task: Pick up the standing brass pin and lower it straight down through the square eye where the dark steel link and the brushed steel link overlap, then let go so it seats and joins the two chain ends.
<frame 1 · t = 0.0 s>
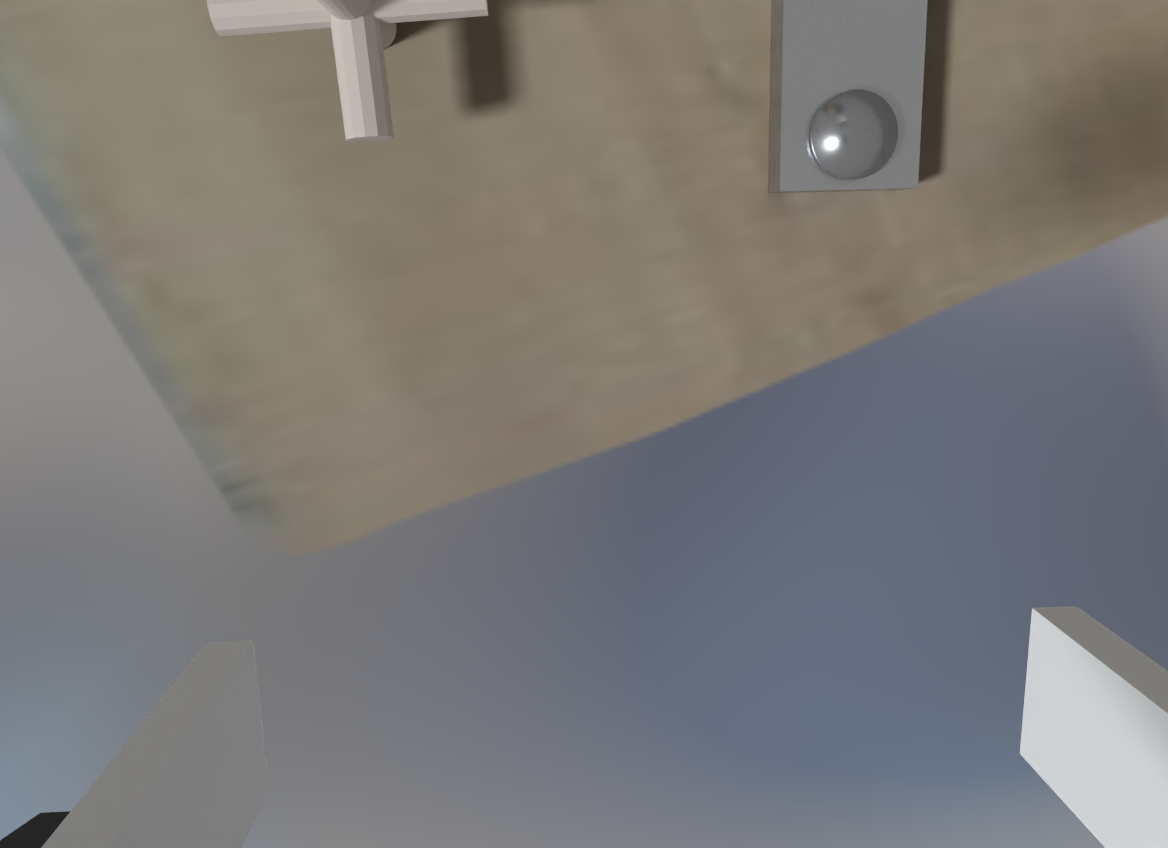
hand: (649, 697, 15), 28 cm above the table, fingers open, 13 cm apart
pipe connector: (375, 28, 39), on the table
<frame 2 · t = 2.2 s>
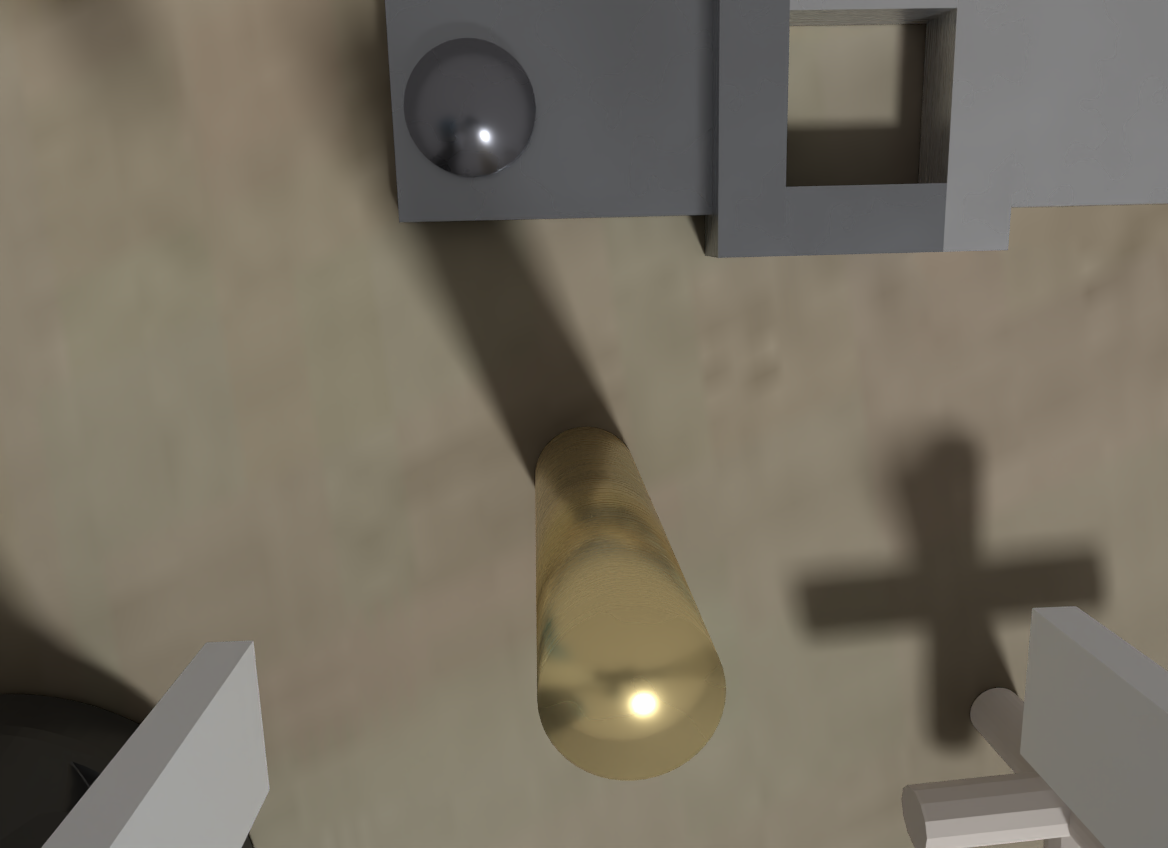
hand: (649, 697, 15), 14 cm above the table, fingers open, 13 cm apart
pipe connector: (993, 708, 32), on the table
pin: (585, 475, 29), on the table
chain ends: (846, 107, 27), on the table
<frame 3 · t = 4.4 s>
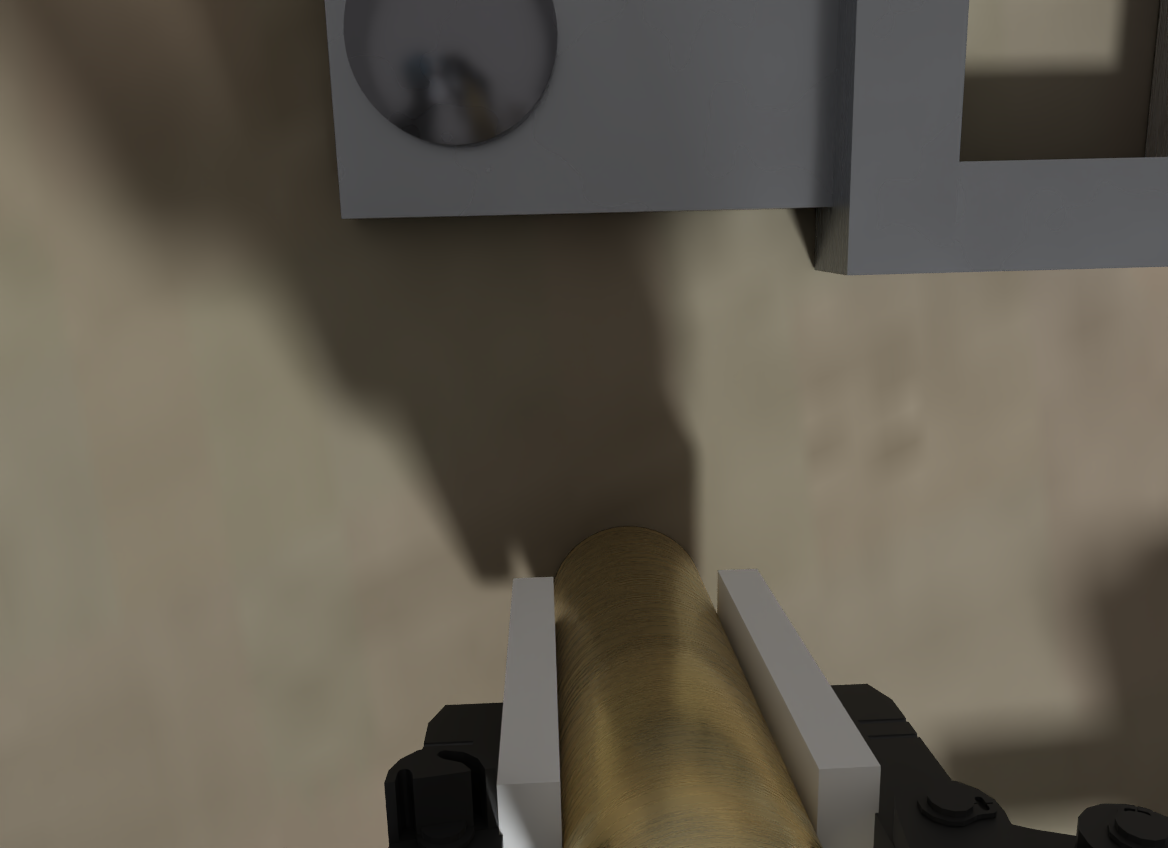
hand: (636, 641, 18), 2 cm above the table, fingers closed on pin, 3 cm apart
pin: (627, 598, 20), on the table, touching gripper
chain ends: (1038, 40, 17), on the table
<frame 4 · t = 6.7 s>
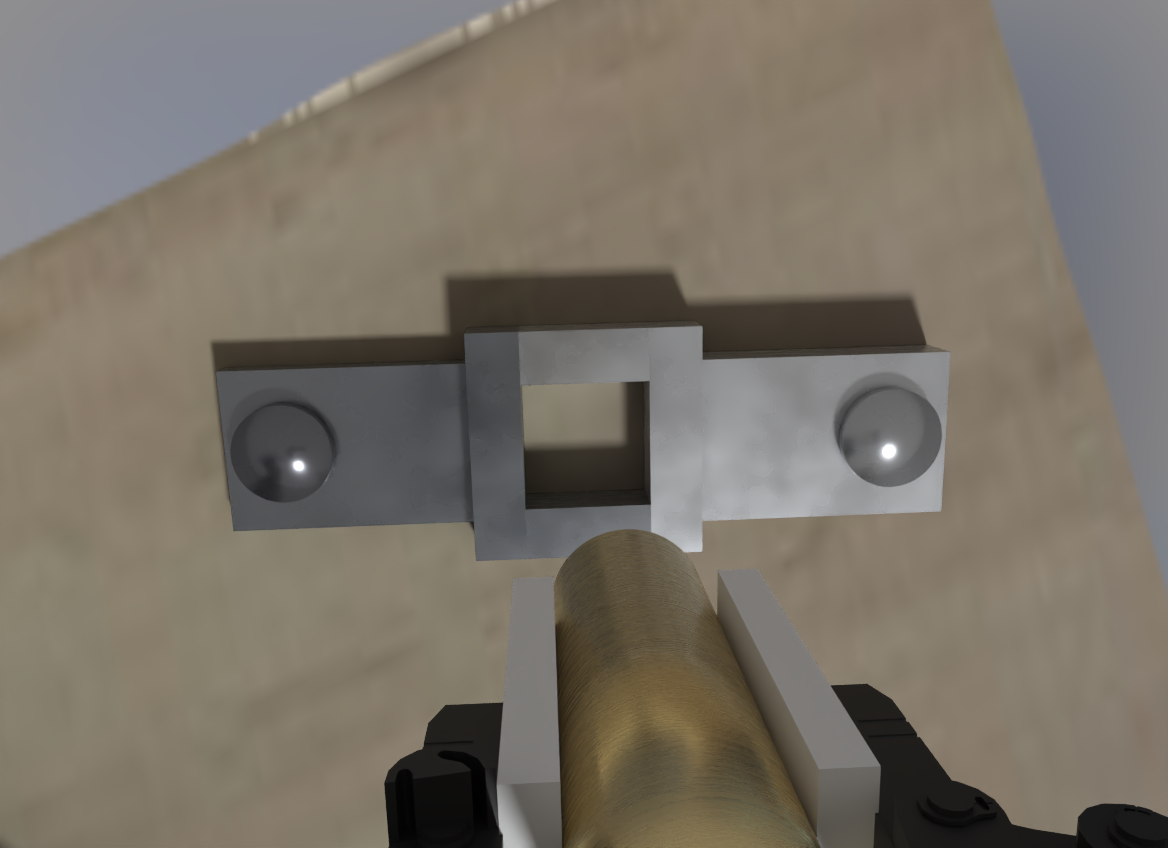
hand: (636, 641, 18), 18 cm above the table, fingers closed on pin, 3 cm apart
pin: (627, 600, 19), point 16 cm above the table, touching gripper
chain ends: (584, 433, 35), on the table
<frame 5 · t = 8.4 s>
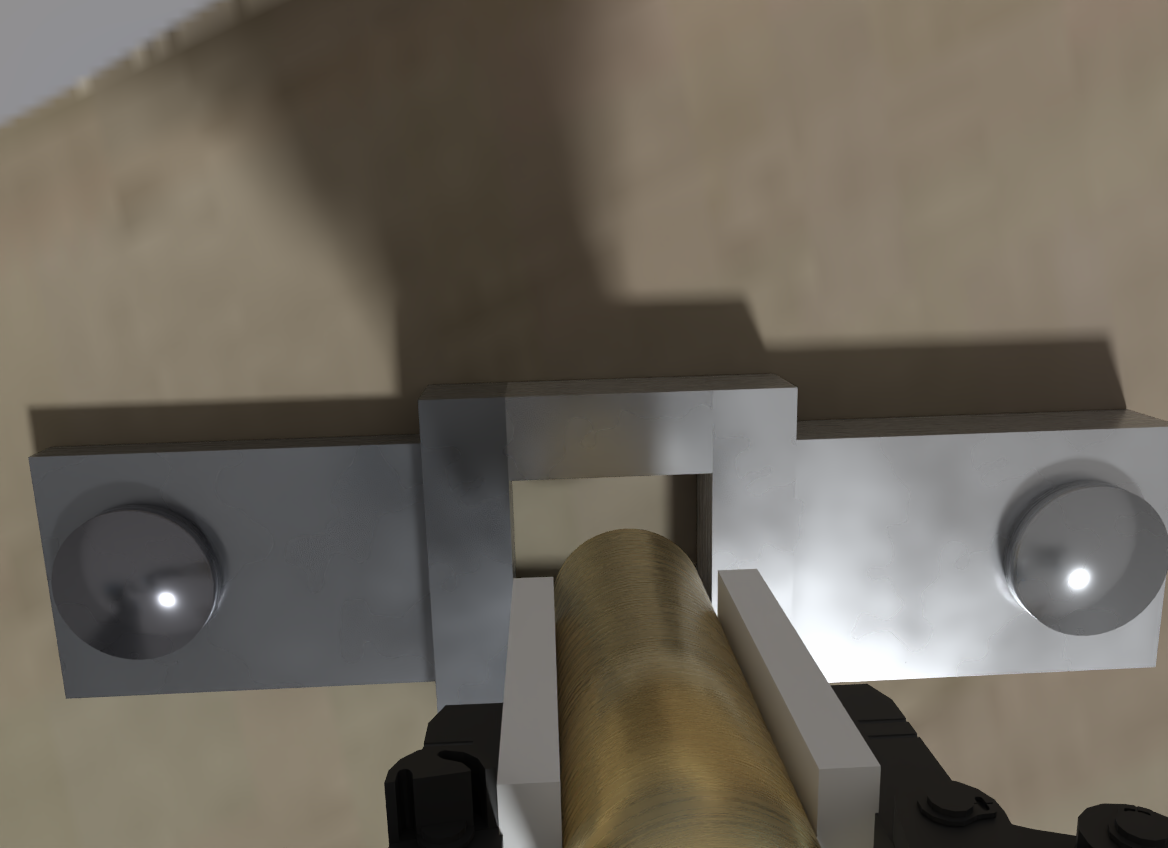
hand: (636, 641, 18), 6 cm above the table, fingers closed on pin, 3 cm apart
pin: (627, 600, 19), point 4 cm above the table, touching gripper
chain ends: (606, 544, 23), on the table
when the fingers open (3 cm above the table, at t = 9.4 s): pin drops 1 cm, on the table.
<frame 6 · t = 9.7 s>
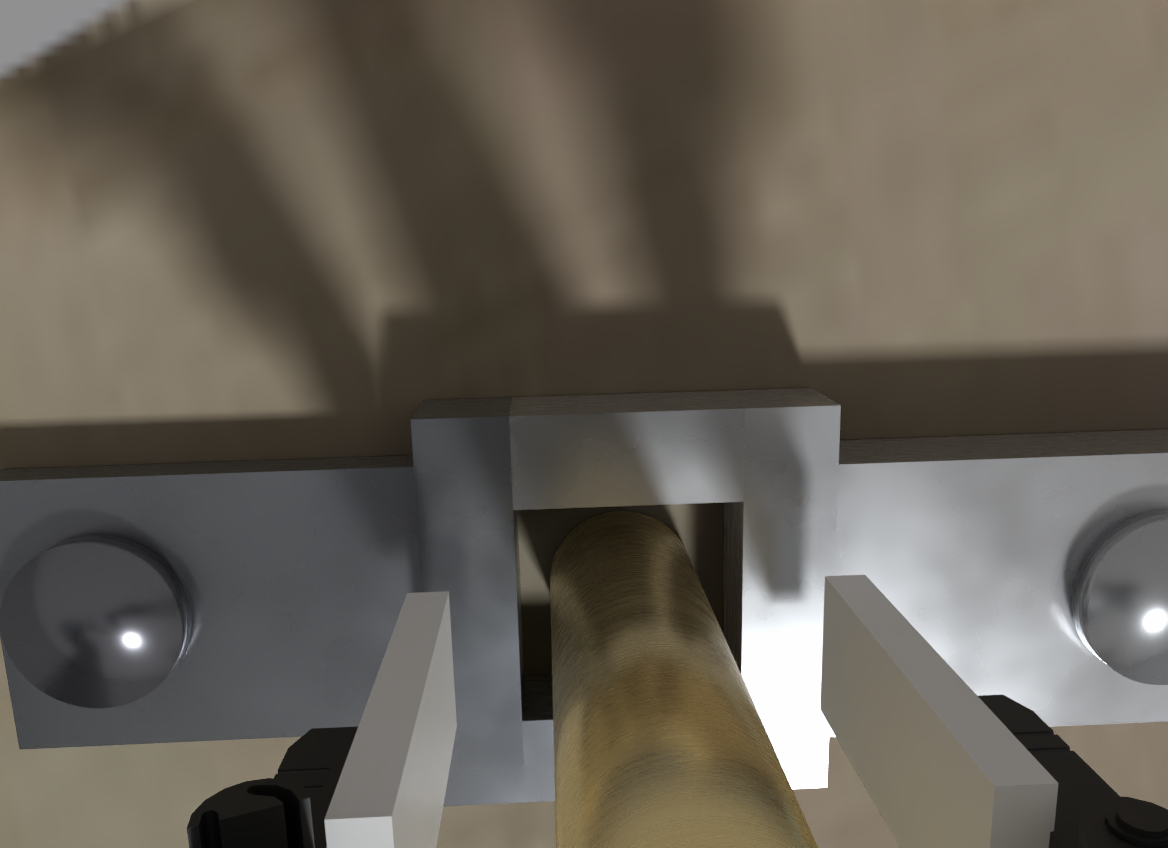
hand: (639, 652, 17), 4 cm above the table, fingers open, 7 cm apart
pin: (620, 578, 21), on the table
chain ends: (622, 577, 21), on the table
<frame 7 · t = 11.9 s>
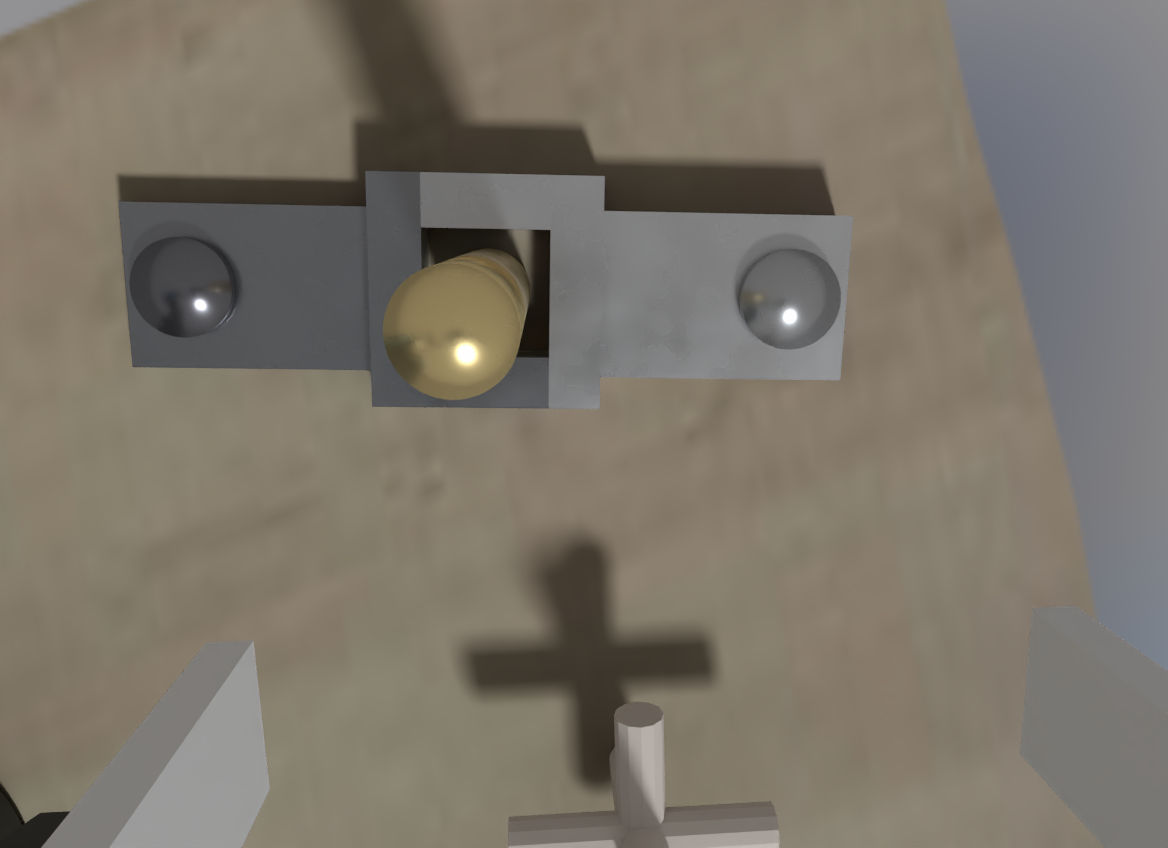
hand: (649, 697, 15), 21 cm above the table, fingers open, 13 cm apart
pipe connector: (629, 756, 40), on the table
pin: (488, 290, 35), on the table
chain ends: (489, 289, 35), on the table
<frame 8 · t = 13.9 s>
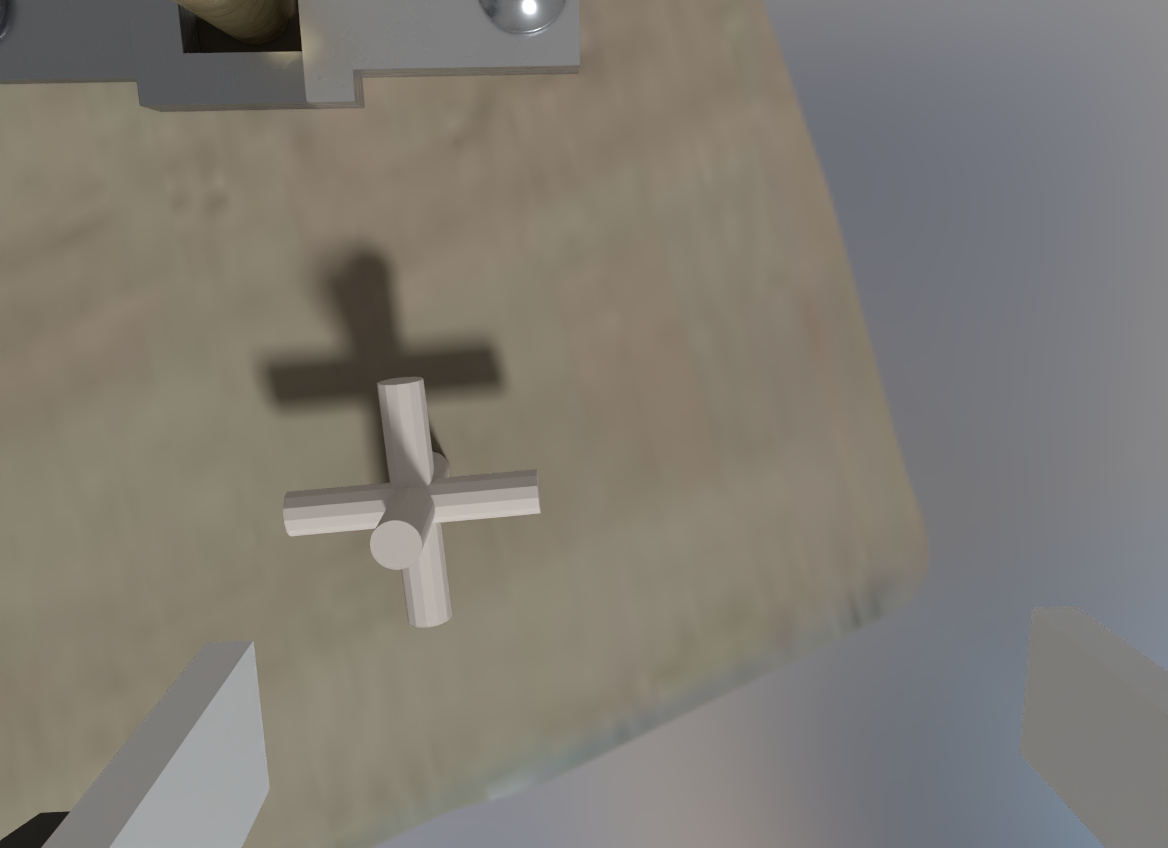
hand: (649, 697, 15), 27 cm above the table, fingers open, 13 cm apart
pipe connector: (430, 469, 42), on the table
pin: (252, 2, 37), on the table
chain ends: (252, 1, 37), on the table
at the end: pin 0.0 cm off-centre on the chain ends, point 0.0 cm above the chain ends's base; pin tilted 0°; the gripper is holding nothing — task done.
